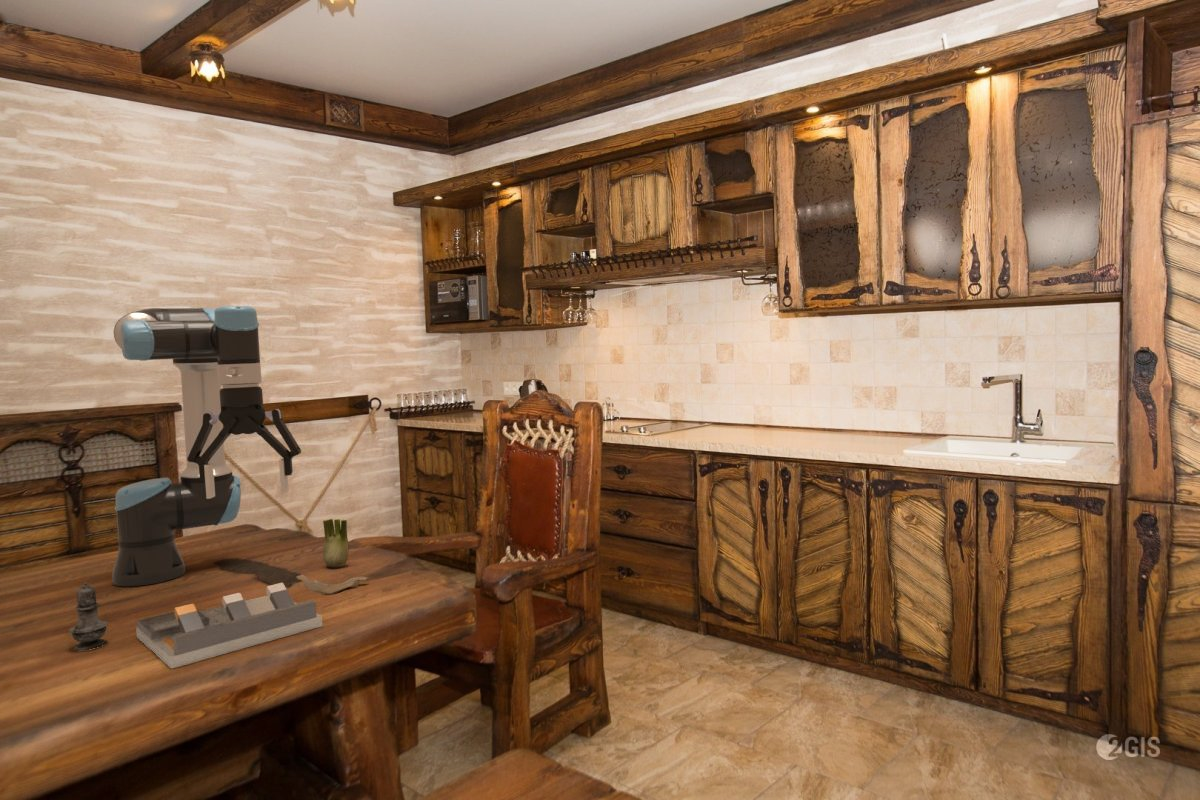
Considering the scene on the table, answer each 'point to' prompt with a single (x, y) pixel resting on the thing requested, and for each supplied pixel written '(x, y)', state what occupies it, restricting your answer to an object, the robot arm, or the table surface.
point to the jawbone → (328, 588)
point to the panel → (224, 630)
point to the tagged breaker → (188, 618)
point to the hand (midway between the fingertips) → (248, 495)
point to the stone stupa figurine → (88, 621)
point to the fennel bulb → (335, 543)
